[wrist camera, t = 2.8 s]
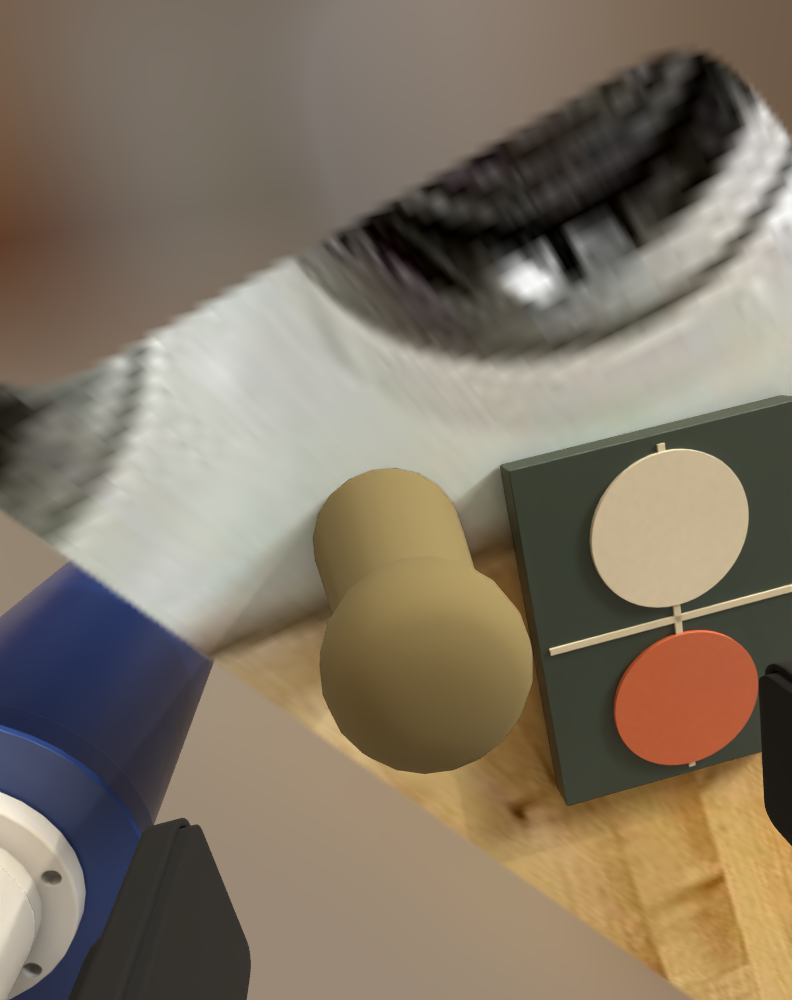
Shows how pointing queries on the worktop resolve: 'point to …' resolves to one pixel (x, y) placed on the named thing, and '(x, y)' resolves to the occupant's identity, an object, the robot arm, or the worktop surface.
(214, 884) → the robot arm
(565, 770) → the board
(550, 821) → the worktop surface
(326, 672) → the cork
